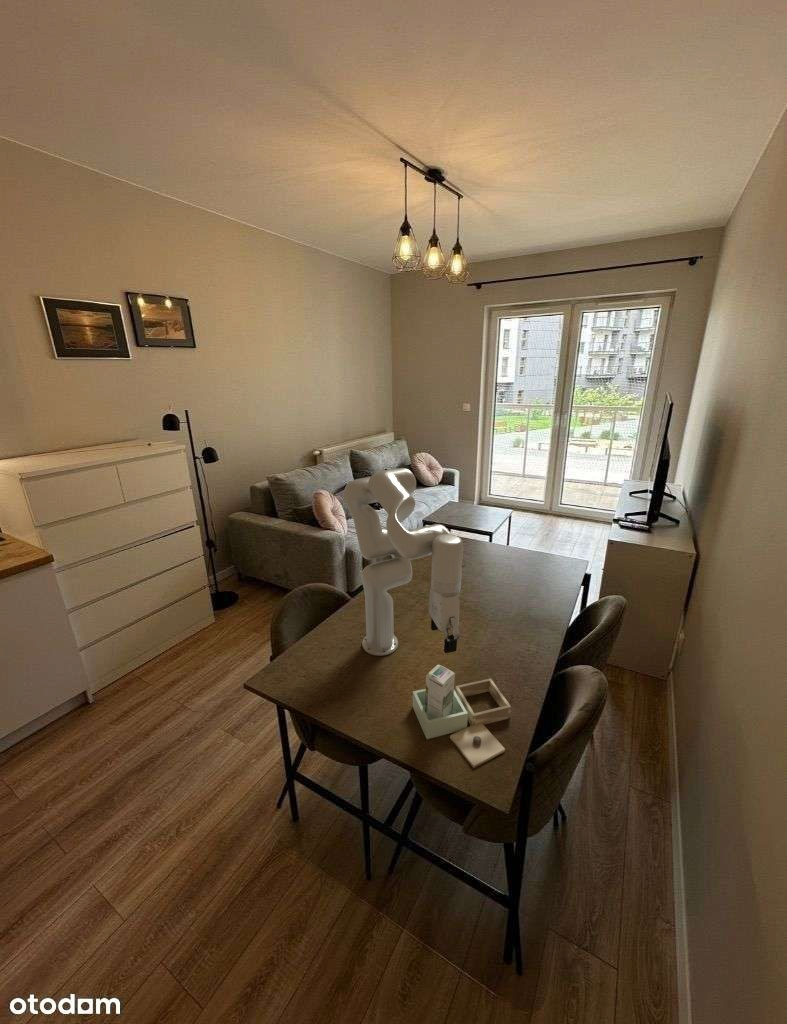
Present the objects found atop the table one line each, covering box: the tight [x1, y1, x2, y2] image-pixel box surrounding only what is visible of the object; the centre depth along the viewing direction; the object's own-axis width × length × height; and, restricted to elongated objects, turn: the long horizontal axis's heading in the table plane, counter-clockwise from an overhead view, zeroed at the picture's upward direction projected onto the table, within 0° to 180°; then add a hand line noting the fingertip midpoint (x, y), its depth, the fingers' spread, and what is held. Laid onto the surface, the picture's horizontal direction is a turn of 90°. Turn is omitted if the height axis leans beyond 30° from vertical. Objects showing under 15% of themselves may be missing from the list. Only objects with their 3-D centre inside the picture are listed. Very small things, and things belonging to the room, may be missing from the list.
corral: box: [454, 678, 512, 726], centre depth 119 cm, size 12×12×4 cm
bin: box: [412, 688, 468, 740], centre depth 116 cm, size 12×12×6 cm
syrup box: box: [425, 664, 456, 720], centre depth 114 cm, size 6×6×14 cm
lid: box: [449, 723, 506, 769], centre depth 108 cm, size 10×10×2 cm
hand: (443, 639), depth 110 cm, fingers open, 9 cm apart
